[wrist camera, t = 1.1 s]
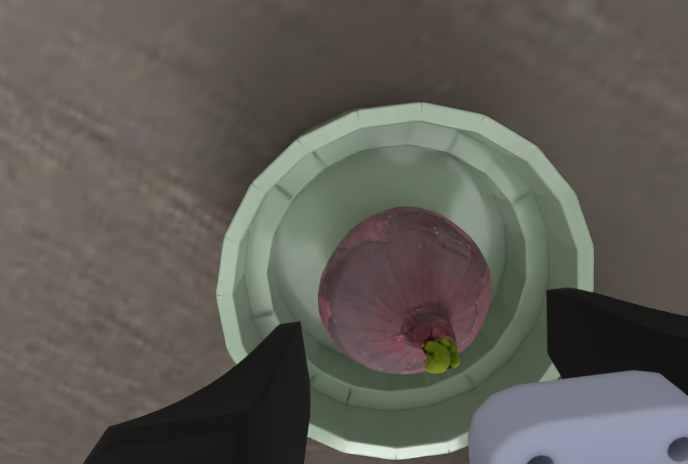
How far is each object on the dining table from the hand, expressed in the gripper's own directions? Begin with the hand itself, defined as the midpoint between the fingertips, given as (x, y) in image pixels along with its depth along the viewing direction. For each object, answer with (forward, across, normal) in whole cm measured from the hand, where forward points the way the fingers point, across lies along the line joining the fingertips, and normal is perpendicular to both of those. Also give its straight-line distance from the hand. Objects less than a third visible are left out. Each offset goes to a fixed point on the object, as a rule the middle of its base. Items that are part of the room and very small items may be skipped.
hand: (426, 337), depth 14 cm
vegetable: (+8, 0, 0) cm, 8 cm away
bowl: (+8, 0, 0) cm, 8 cm away
